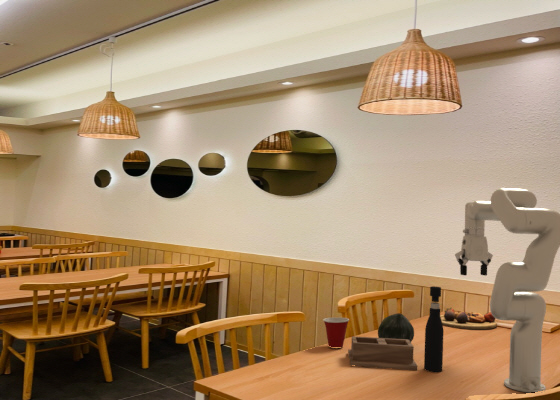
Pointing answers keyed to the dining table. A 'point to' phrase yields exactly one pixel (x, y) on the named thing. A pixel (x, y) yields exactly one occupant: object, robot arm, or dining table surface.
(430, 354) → the wine bottle
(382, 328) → the squash
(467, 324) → the wooden plate with food
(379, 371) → the dining table surface
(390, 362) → the bottle rack
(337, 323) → the plastic cup
